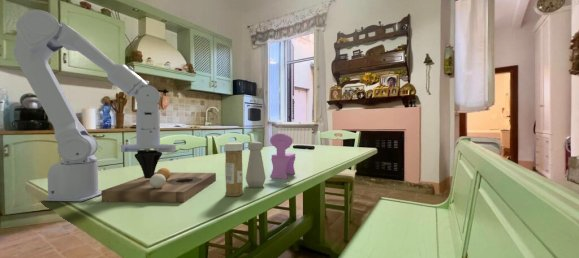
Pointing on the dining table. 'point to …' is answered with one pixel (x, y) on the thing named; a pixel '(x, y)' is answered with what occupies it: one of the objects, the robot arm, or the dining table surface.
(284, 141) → the toy chair
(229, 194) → the spice jar
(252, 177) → the salt shaker
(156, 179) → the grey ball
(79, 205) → the dining table surface
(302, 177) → the dining table surface
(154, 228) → the dining table surface
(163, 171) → the orange ball
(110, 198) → the board
